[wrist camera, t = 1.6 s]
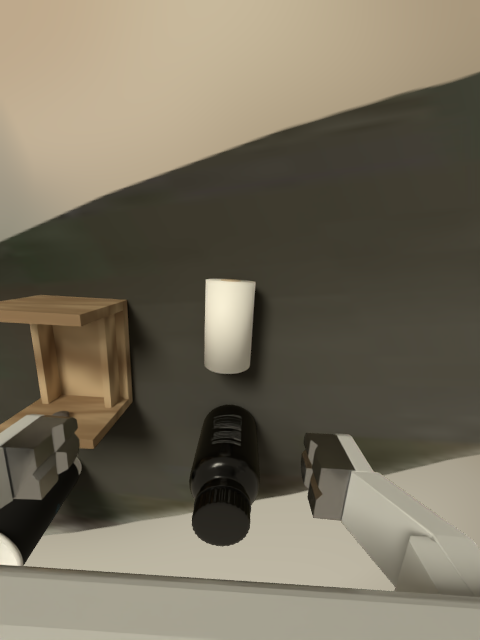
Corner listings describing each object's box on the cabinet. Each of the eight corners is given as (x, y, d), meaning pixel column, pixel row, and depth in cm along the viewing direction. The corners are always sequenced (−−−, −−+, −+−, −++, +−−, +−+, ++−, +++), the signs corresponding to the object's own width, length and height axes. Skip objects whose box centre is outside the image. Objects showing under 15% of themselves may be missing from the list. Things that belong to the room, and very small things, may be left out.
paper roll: (210, 277, 27) (200, 280, 22) (255, 279, 27) (255, 283, 22) (208, 354, 29) (199, 372, 24) (250, 357, 29) (249, 376, 24)
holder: (40, 295, 28) (-40, 307, 20) (126, 299, 28) (79, 314, 20) (54, 396, 31) (-10, 441, 23) (132, 401, 31) (93, 448, 23)
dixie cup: (34, 436, 32) (-71, 522, 22) (93, 445, 32) (17, 535, 22) (37, 483, 34) (-59, 584, 24) (93, 492, 34) (22, 596, 24)
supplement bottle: (193, 432, 32) (162, 532, 20) (222, 393, 30) (206, 475, 18) (237, 457, 32) (232, 568, 21) (267, 420, 31) (279, 517, 19)
